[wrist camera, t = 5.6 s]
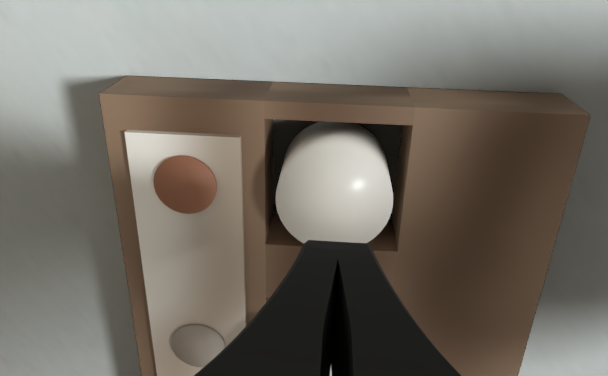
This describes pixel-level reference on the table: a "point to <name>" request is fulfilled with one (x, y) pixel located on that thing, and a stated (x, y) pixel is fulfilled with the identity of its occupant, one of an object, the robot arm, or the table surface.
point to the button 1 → (334, 184)
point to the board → (386, 245)
